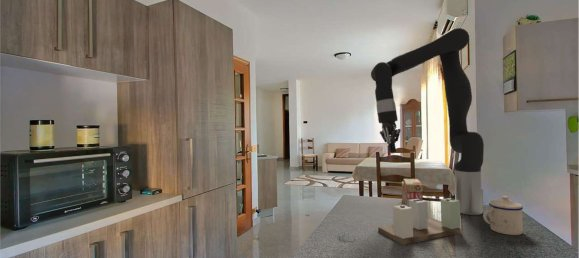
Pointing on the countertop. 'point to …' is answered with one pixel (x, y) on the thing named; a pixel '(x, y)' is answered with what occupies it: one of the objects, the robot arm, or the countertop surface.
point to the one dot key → (403, 221)
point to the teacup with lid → (505, 216)
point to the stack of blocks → (411, 190)
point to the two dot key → (450, 213)
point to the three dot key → (419, 213)
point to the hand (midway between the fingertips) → (392, 152)
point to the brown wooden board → (420, 232)
